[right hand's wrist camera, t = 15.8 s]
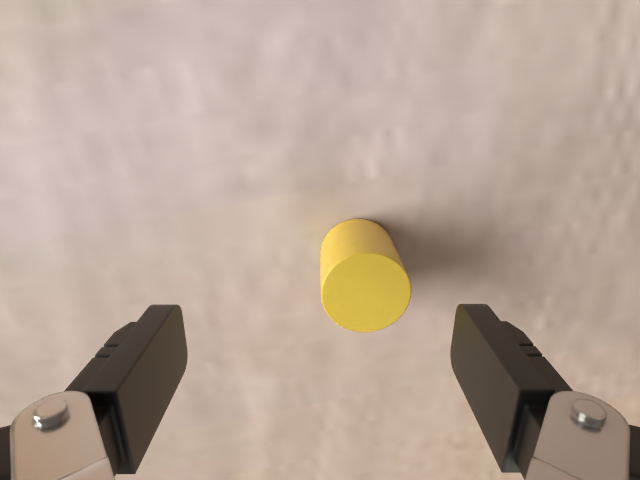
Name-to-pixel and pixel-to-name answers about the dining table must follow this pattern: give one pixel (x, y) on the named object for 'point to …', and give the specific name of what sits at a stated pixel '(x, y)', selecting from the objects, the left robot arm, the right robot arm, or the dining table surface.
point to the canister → (362, 277)
